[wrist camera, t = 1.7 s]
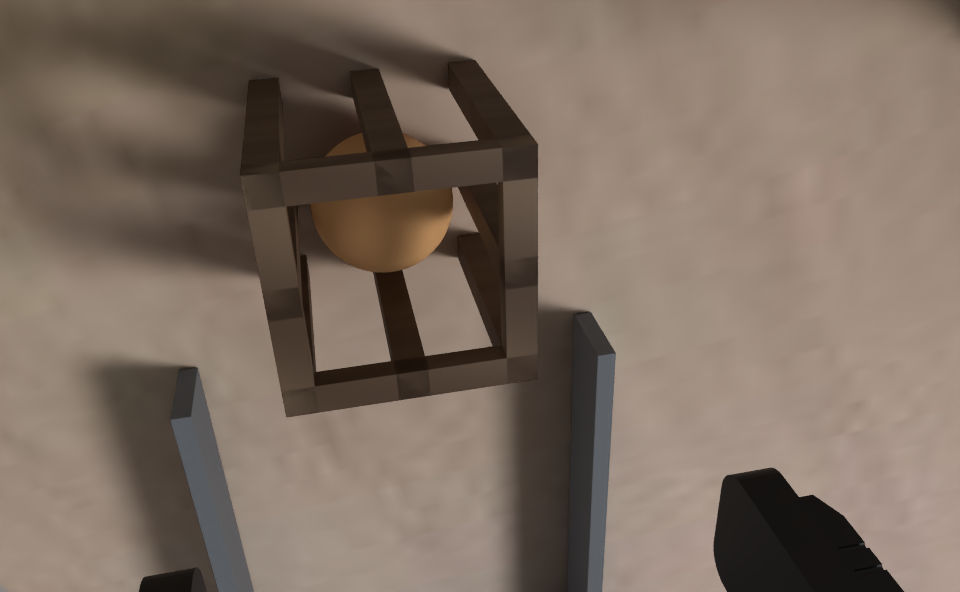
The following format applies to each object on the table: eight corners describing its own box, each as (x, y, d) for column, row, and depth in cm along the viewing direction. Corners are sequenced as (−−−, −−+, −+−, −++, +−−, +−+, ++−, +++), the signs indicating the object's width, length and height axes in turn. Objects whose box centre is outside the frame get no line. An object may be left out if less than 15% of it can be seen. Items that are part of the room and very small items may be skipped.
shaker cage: (248, 80, 24) (240, 176, 18) (475, 60, 25) (537, 144, 19) (283, 280, 27) (286, 417, 21) (482, 255, 28) (537, 379, 22)
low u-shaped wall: (178, 370, 28) (170, 419, 26) (590, 312, 30) (615, 353, 28) (260, 678, 36) (259, 736, 34) (579, 615, 38) (597, 665, 36)
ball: (299, 117, 24) (302, 169, 21) (436, 104, 25) (461, 153, 22) (317, 242, 27) (323, 307, 23) (444, 226, 27) (468, 288, 24)
